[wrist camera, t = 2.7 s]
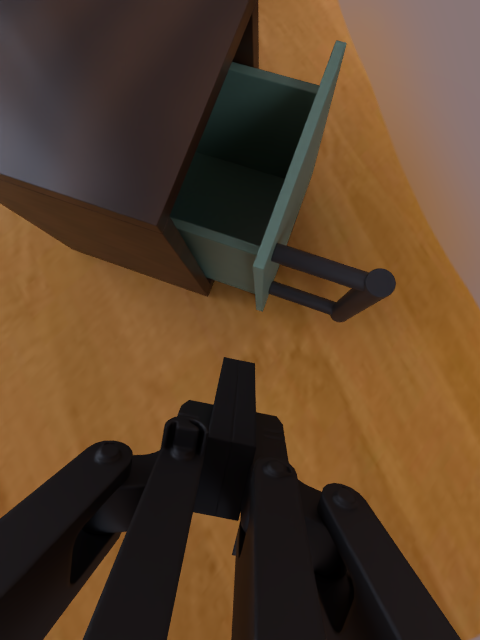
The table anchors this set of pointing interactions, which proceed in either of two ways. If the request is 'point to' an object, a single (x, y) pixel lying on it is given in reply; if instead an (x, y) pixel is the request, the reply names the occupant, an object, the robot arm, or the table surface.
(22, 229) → the table surface
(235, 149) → the green drawer
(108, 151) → the box
